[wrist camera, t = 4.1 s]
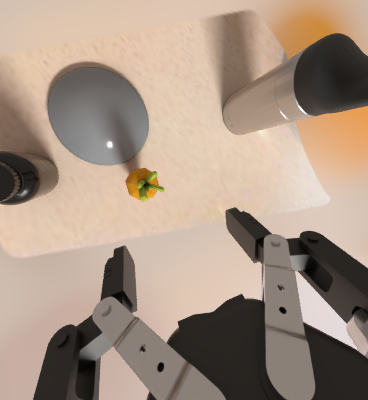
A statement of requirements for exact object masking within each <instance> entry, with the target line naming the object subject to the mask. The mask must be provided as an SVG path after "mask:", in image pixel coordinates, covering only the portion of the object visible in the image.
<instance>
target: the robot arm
mask: <svg viewBox="0 0 368 400" xmlns="http://www.w3.org/2000/svg"><path fill="white" fill-rule="evenodd" d="M364 106H368V56H367V55H365V54H364V53H363V52H362V51H361V50H360V49H359V47H358V46H357V45H356V44H355V43H354V41H353V40H352V39H350V38H349V37H348V36H346V35H344V34H340V33H335V34H331V35H328V36H326V37H324V38H322V39H320V40H318V41H317V42H315V43H314V44H312V45H311V46H309V47H307V48H306V49H304V50H303V51H301V52H299V53H298V54H296V55H295V56H293V57H291V58H290V59H288V60H287V61H285V62H284V63H282V64H280V65H279V66H277V67H276V68H274V69H272V70H271V71H269V72H268V73H266V74H264V75H263V76H261V77H260V78H258V79H256V80H255V81H253V82H252V83H250V84H248V85H247V86H245V87H243V88H242V89H240V90H239V91H237V92H236V93H234V94H232V95H231V96H230V97H229V98H228V99H227V101H226V102H225V105H224V109H223V118H224V122H225V125H226V126H227V128H228V129H229V130H230V131H231V132H232V133H234V134H236V135H243V134H247V133H251V132H255V131H259V130H263V129H267V128H271V127H275V126H279V125H282V124H286V123H290V122H294V121H298V120H302V119H305V118H309V117H313V116H318V115H321V114H326V113H336V112H342V111H346V110H350V109H355V108H359V107H364ZM226 224H227V228H228V231H229V232H230V234H231V235H232V236H233V237H234V239H235V240H236V241H237V242H238V244H239V245H240V246H241V247H242V248H243V250H244V251H245V252H246V253H247V255H248V256H249V257H250V258H251V260H252V261H253V262H254V263H257V262H259V261H260V262H261V263H262V295H261V300H257V299H245V298H244V296H243V295H242V294H241V295H238V296H236V297H234V298H232V299H229V300H227V301H226V302H224V303H223V304H222V305H221V306H220V307H218V308H217V309H216V310H215V311H214V312H211V313H203V314H195V315H192V316H190V317H188V318H185V319H183V320H181V321H178V325H179V328H178V329H177V330H175V331H174V333H173V334H172V335H171V336H170V338H169V339H168V341H167V343H166V342H165V341H164V340H163V339H161V338H160V337H159V336H158V335H157V334H156V333H155V332H154V331H153V330H152V329H150V328H149V327H148V326H147V325H146V324H145V323H144V322H143V321H141V320H140V319H139V318H138V317H135V316H134V315H133V314H132V313H133V312H135V311H137V298H136V279H135V265H134V261H133V259H132V257H131V255H130V253H129V251H128V249H127V248H126V246H121V247H119V248H116V249H114V256H113V257H112V258H109V259H108V261H107V263H106V265H105V270H104V279H103V287H102V293H101V301H100V302H99V303H98V304H97V306H96V307H95V309H94V311H93V314H92V315H91V316H90V317H89V318H88V319H86V320H85V321H83V322H82V323H80V324H79V325H78V326H74V325H66V326H64V327H62V328H61V329H60V330H58V331H57V332H56V333H55V334H54V336H53V337H52V338H51V340H50V342H49V344H48V347H47V350H46V354H45V358H44V361H43V365H42V369H41V373H40V376H39V380H38V383H37V387H36V391H35V394H34V398H33V400H98V399H99V379H100V359H101V356H102V355H103V354H104V353H105V352H107V351H108V350H109V349H110V348H111V347H113V346H114V348H115V349H116V351H117V352H118V353H119V354H120V355H121V357H122V358H123V359H124V360H125V362H126V363H127V364H128V365H129V366H130V368H131V369H132V370H133V371H134V372H135V373H136V375H137V376H138V377H139V379H140V380H141V381H142V382H143V383H144V385H145V386H146V387H147V388H148V390H149V394H148V397H147V400H368V268H366V267H365V266H364V265H362V264H361V263H360V262H358V261H357V260H356V259H354V258H353V257H351V256H350V255H349V254H347V253H346V252H345V251H343V250H342V249H341V248H339V247H338V246H336V245H335V244H334V243H332V242H331V241H330V240H328V239H327V238H325V237H324V236H323V235H321V234H319V233H317V232H314V231H305V232H302V233H301V234H300V237H299V238H292V239H285V238H284V237H282V236H280V235H276V234H272V233H270V232H269V231H268V230H267V229H266V228H265V227H264V226H263V225H261V224H260V223H259V222H258V221H257V220H256V219H254V217H253V216H251V215H250V214H249V213H246V212H244V211H242V212H240V211H239V210H238V209H237V208H235V207H234V208H231V209H228V210H226ZM295 271H298V272H299V273H300V274H301V275H302V276H303V277H304V278H305V279H306V280H307V282H308V283H309V284H310V285H311V286H312V287H313V288H314V289H315V290H316V291H317V292H318V293H319V294H320V295H321V297H322V298H323V299H324V300H325V301H326V302H327V303H328V304H329V305H330V306H331V307H332V308H333V309H334V310H335V312H336V313H337V314H338V315H339V316H340V317H341V318H342V319H343V320H344V321H345V322H346V323H347V332H348V334H349V336H350V338H351V339H352V340H353V343H354V344H355V345H356V346H357V348H358V351H357V350H356V349H354V348H352V347H351V346H348V345H347V344H345V343H343V342H341V341H339V340H337V339H335V338H333V337H331V336H329V335H327V334H326V333H324V332H322V331H320V330H318V329H316V328H314V327H312V326H310V325H308V324H306V323H304V322H303V320H302V313H301V307H300V301H299V295H298V288H297V282H296V276H295Z"/></svg>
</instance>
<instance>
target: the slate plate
mask: <svg viewBox="0 0 368 400" xmlns="http://www.w3.org/2000/svg"><path fill="white" fill-rule="evenodd" d="M48 114H49V120H50V123H51V126H52V128H53V130H54V133H55V134H56V136H57V138H58V139H59V140H60V142H61V143H62V144H63V145H64V146H65V147H66V148H67V149H68V150H69V151H70V152H71V153H73V154H74V155H76V156H77V157H79V158H81V159H83V160H85V161H87V162H90V163H93V164H98V165H116V164H120V163H123V162H126V161H128V160H130V159H131V158H133V157H134V156H135V155H136V154H137V153H138V152H139V151H140V150H141V149H142V147H143V146H144V143H145V141H146V139H147V136H148V130H149V120H148V114H147V110H146V107H145V105H144V102H143V100H142V99H141V97H140V95H139V94H138V92H137V91H136V90H135V89H134V88H133V87H132V85H131V84H129V83H128V82H127V81H126V80H125V79H123V78H122V77H120V76H119V75H117V74H115V73H113V72H110V71H108V70H105V69H101V68H95V67H85V68H79V69H75V70H72V71H70V72H68V73H67V74H65V75H64V76H62V77H61V78H60V79H59V80H58V81H57V82H56V84H55V85H54V87H53V89H52V91H51V93H50V97H49V102H48Z"/></svg>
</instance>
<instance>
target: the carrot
mask: <svg viewBox="0 0 368 400" xmlns="http://www.w3.org/2000/svg"><path fill="white" fill-rule="evenodd" d="M126 185H127V188H128V191H129V194H130V195H131V196H133V197H135V198H137V199H139V200H141V201H143V202H144V201H147V200H148V198H152V197H154V195H155V193H156V191H157V190H158V191H161V192H164V188H163V187H161V186H159V184H158V180H157V172H156V171H154V172H151V171H149V170H147V169H146V168H142V169H137V170H133V171H131V172H130V174H129V176H128V177H127V179H126Z"/></svg>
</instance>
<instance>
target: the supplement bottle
mask: <svg viewBox="0 0 368 400" xmlns="http://www.w3.org/2000/svg"><path fill="white" fill-rule="evenodd" d="M58 179H59V175H58V171H57V169H56V167H55V166H54V164H53V163H52V162H50V161H49V160H48V159H46V158H44V157H42V156H39V155H34V154H26V153H16V152H5V151H0V204H2V205H17V204H21V203H25V202H27V201H30V200H32V199H34V198H37V197H39V196H42V195H44V194H46V193H48V192H50V191H51V190H53V189H54V188H55V187H56V185H57V183H58Z"/></svg>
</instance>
